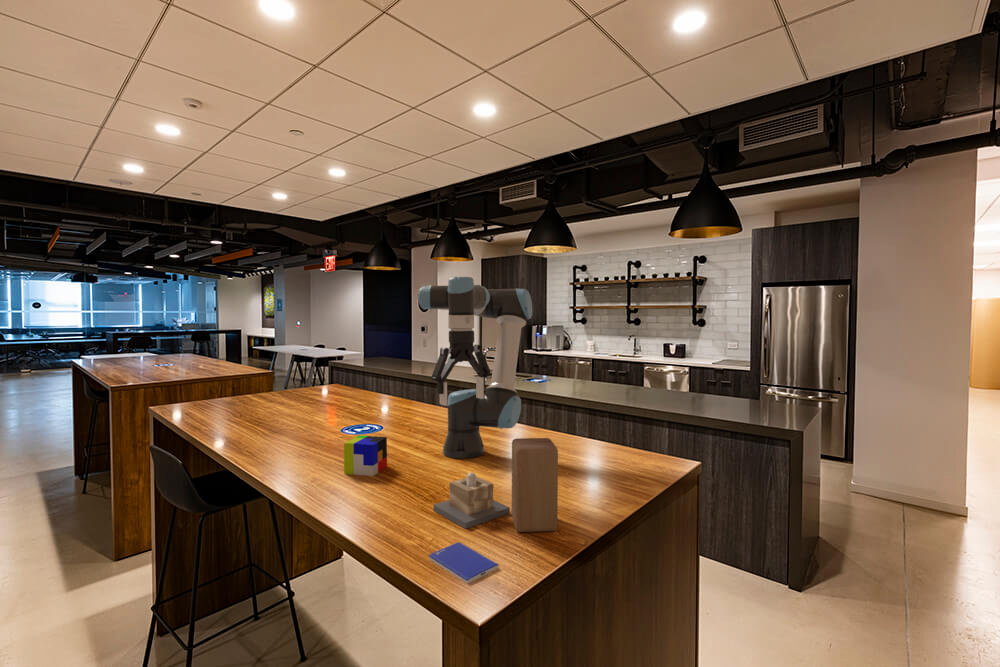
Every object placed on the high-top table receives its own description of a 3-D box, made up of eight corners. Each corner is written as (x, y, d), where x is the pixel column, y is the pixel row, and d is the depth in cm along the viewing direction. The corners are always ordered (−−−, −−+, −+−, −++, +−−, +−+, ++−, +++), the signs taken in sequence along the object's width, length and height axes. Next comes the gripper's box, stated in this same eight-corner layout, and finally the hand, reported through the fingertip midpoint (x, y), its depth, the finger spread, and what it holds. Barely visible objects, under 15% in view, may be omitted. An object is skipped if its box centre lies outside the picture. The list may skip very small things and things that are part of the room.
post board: (476, 497, 132) (476, 461, 131) (509, 513, 121) (509, 473, 121) (433, 510, 122) (433, 471, 122) (465, 529, 112) (465, 486, 111)
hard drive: (428, 554, 98) (467, 578, 89) (459, 541, 103) (498, 563, 95) (428, 561, 98) (467, 586, 89) (459, 548, 104) (498, 570, 95)
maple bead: (474, 497, 127) (474, 475, 127) (493, 506, 121) (493, 483, 121) (449, 505, 122) (449, 482, 122) (468, 515, 116) (468, 491, 116)
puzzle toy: (373, 476, 149) (372, 444, 149) (344, 474, 151) (343, 443, 151) (386, 466, 159) (386, 437, 158) (359, 464, 161) (359, 435, 160)
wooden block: (511, 515, 119) (511, 437, 119) (550, 514, 120) (550, 436, 120) (515, 534, 109) (516, 448, 109) (558, 532, 110) (558, 447, 110)
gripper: (433, 332, 127) (434, 410, 128) (501, 328, 144) (501, 397, 145) (418, 331, 133) (419, 405, 134) (485, 327, 149) (486, 394, 151)
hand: (462, 401), depth 139 cm, fingers open, 13 cm apart
